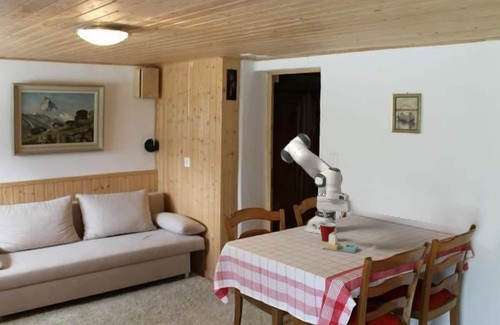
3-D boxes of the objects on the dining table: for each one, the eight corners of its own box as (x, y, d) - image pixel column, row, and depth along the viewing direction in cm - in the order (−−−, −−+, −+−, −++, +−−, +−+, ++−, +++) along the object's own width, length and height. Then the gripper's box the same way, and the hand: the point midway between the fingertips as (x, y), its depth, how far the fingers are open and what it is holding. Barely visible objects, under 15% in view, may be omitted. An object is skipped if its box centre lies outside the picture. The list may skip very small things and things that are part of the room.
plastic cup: (338, 243, 322) (339, 225, 320) (322, 244, 320) (322, 225, 318) (332, 239, 332) (332, 221, 331) (316, 240, 330) (316, 221, 329)
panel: (322, 250, 307) (322, 245, 306) (329, 245, 317) (329, 240, 317) (355, 255, 297) (355, 249, 297) (361, 250, 308) (361, 244, 307)
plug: (328, 248, 309) (328, 233, 308) (330, 246, 312) (331, 231, 311) (334, 248, 307) (335, 234, 306) (337, 247, 310) (337, 232, 309)
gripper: (315, 194, 308) (314, 217, 310) (348, 197, 298) (347, 221, 300) (319, 192, 314) (318, 215, 315) (351, 195, 304) (351, 218, 305)
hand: (333, 218), depth 307 cm, fingers open, 8 cm apart
